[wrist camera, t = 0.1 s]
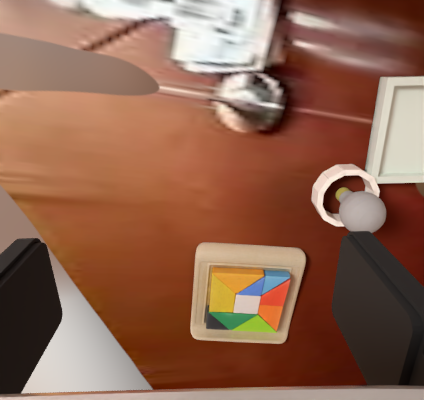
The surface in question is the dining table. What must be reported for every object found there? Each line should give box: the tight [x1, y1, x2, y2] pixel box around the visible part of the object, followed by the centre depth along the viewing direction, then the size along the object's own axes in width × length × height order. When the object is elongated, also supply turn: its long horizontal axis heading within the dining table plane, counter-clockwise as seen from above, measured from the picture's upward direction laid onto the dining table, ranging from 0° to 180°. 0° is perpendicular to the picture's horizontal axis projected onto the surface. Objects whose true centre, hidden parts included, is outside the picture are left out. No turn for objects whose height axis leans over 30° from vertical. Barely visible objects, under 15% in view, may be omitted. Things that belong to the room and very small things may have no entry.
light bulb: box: [336, 187, 386, 233], centre depth 45 cm, size 6×5×10 cm
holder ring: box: [311, 164, 380, 226], centre depth 48 cm, size 9×9×3 cm
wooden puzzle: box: [190, 242, 306, 344], centre depth 55 cm, size 18×19×4 cm
